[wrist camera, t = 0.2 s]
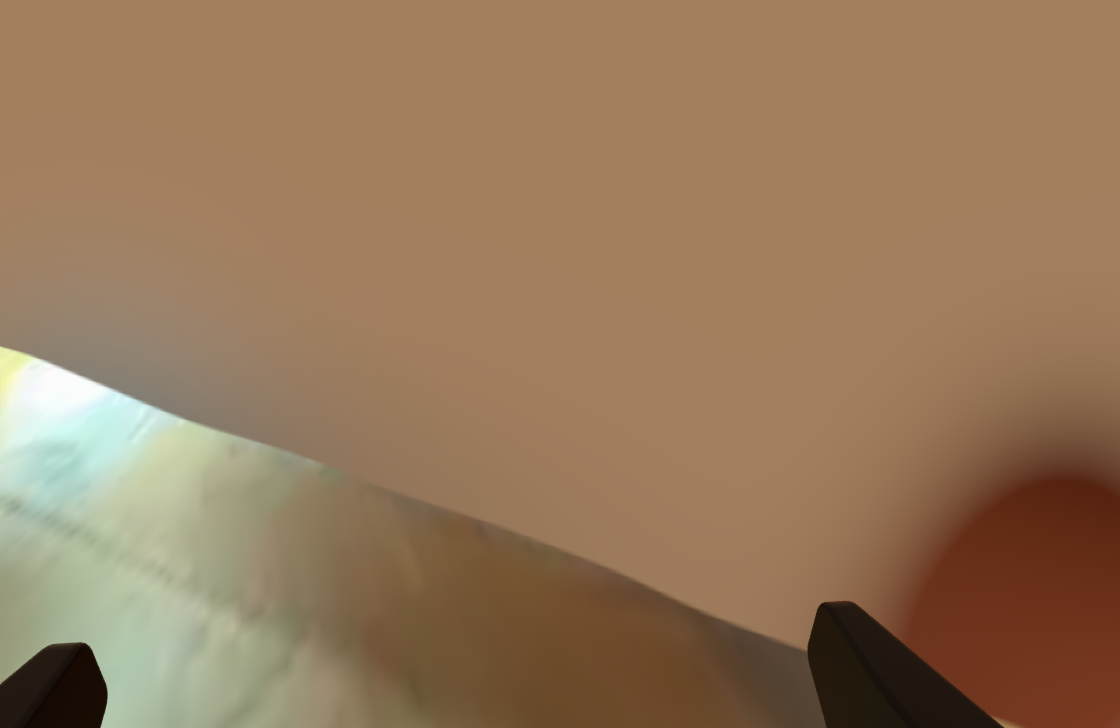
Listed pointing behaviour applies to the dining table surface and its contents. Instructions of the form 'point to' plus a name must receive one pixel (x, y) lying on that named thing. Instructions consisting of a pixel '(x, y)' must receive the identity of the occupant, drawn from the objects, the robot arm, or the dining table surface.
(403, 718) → the dining table surface
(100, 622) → the dining table surface
